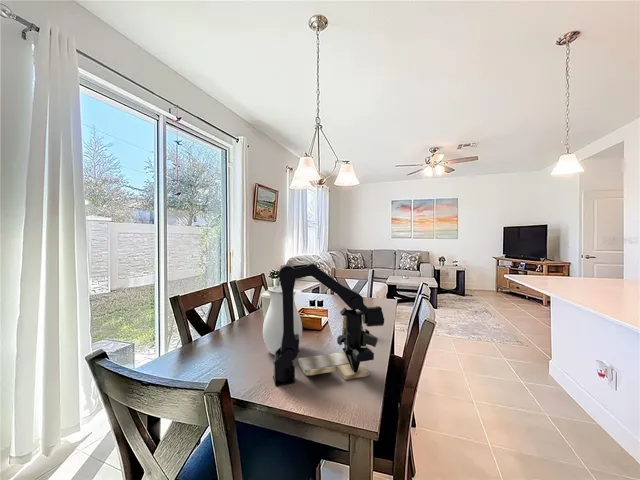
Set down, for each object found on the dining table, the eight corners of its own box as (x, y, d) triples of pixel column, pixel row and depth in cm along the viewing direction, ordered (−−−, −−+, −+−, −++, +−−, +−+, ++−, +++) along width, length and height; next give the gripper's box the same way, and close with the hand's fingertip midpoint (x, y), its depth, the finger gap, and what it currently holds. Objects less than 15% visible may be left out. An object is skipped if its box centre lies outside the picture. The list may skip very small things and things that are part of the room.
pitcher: (296, 361, 113) (295, 291, 113) (256, 357, 116) (255, 289, 116) (310, 339, 137) (309, 281, 136) (276, 337, 140) (276, 280, 139)
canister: (253, 323, 162) (253, 286, 161) (276, 316, 176) (276, 282, 176) (276, 329, 151) (275, 290, 150) (298, 321, 165) (298, 285, 165)
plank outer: (345, 379, 97) (345, 375, 97) (336, 370, 105) (336, 365, 105) (368, 375, 100) (368, 371, 100) (358, 366, 108) (358, 362, 108)
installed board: (304, 374, 102) (304, 369, 102) (298, 362, 112) (298, 358, 112) (357, 365, 109) (357, 361, 109) (347, 355, 118) (347, 351, 118)
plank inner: (310, 375, 94) (310, 370, 95) (305, 375, 101) (304, 370, 102) (336, 371, 97) (335, 366, 98) (329, 371, 104) (328, 366, 105)
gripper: (387, 332, 94) (388, 379, 94) (362, 318, 112) (363, 357, 112) (357, 336, 91) (357, 385, 91) (336, 320, 109) (337, 361, 109)
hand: (354, 371), depth 101 cm, fingers closed on plank outer
